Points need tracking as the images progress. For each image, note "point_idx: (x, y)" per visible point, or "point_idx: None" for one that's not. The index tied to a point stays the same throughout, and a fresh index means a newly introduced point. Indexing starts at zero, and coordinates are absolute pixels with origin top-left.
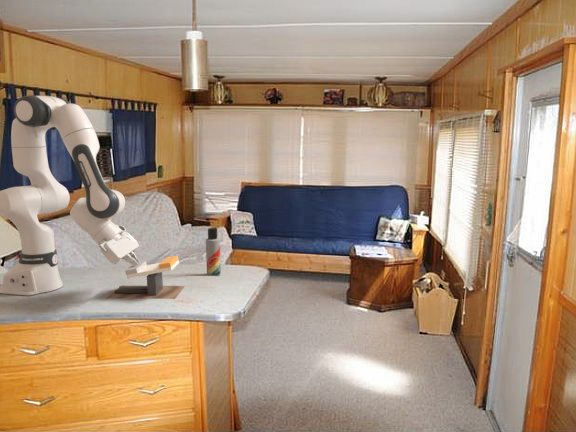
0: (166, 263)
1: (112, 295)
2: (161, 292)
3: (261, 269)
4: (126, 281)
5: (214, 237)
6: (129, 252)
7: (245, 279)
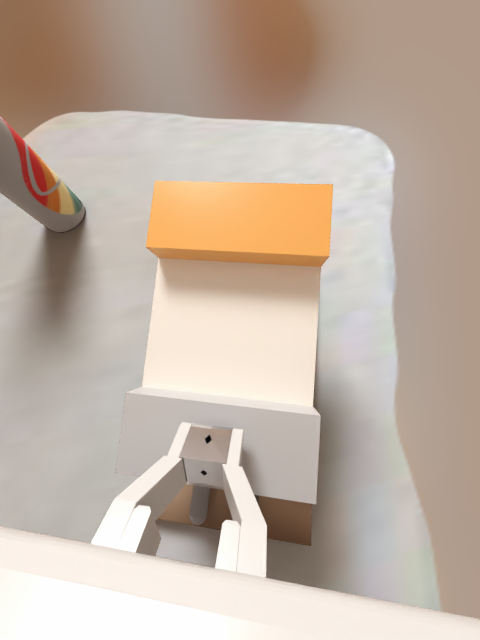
0: (331, 206)
1: (276, 523)
2: None
3: (52, 120)
4: (43, 514)
5: None
6: (213, 569)
7: (127, 142)
